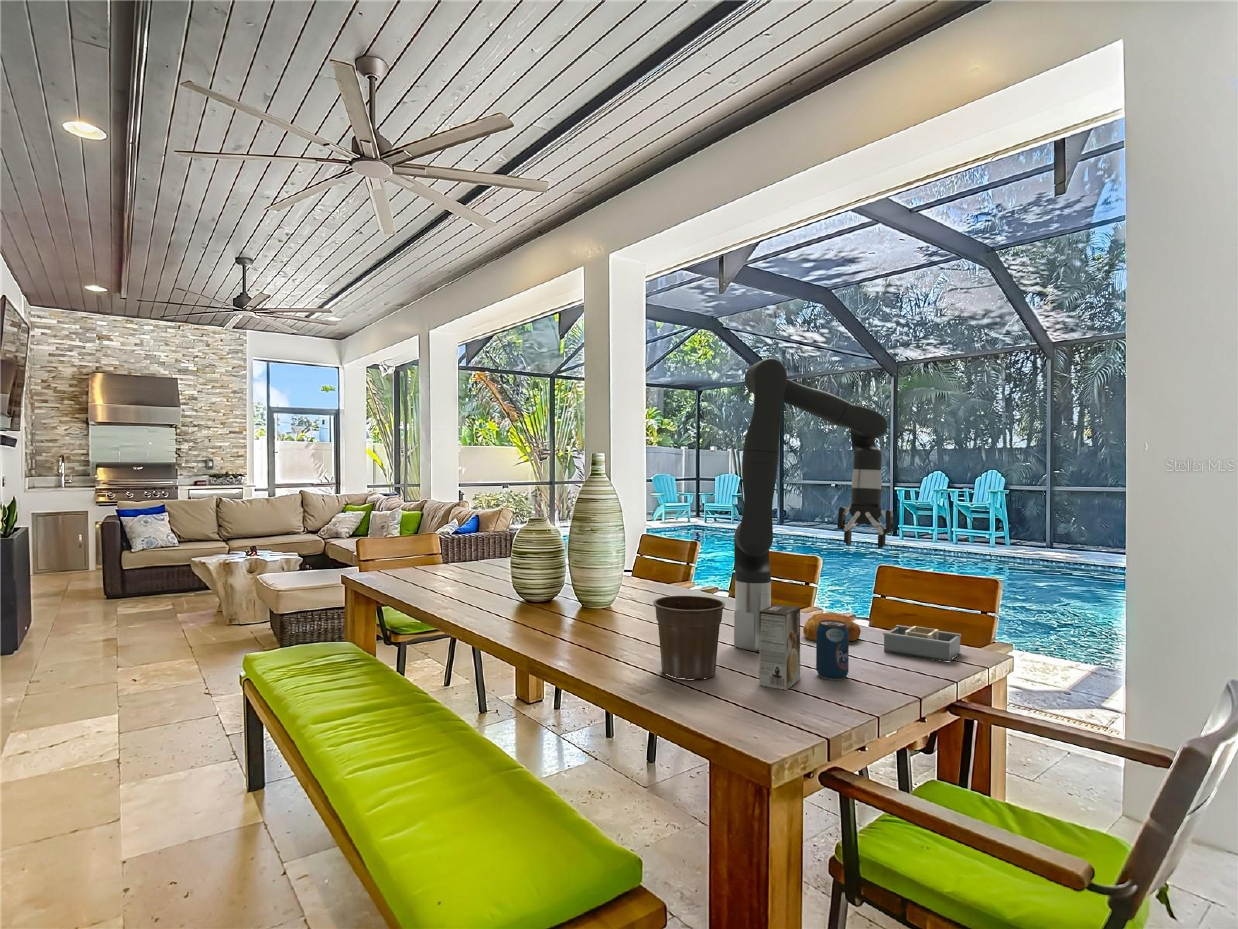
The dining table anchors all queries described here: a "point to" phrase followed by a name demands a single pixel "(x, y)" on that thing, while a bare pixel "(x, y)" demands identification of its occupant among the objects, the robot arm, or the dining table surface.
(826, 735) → the dining table surface
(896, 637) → the box
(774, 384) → the robot arm
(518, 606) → the dining table surface
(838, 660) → the soda can
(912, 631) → the small crate
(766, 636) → the coffee box
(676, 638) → the plant pot
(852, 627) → the croissant
